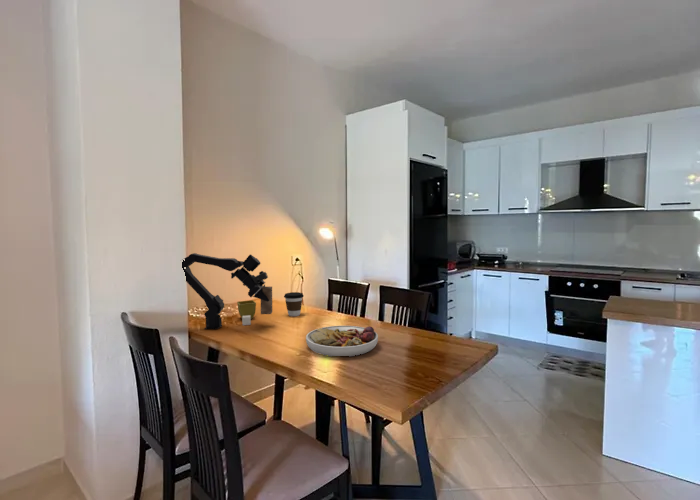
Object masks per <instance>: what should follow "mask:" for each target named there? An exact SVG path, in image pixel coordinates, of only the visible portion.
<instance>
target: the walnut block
mask: <svg viewBox="0 0 700 500" xmlns="http://www.w3.org/2000/svg"><path fill="white" fill-rule="evenodd" d="M261 288H262V287H261ZM263 292H264V294H265V295H266V296H267V298H268V299H269V301H268V302H267V301H264V300H261V299H260V315H272V313H273V286H265V287H263Z"/></svg>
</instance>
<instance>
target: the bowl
mask: <svg viewBox="0 0 700 500" xmlns="http://www.w3.org/2000/svg"><path fill="white" fill-rule="evenodd" d="M305 341H306V345H307V346H308V348H309V349H310V350H311V351H313V352H314V353H316V354H318V353H319V354H318V355H321V354H323V355H322V356H326V355H328V356H327V357H332V356H349V357H355V355H356V356H359V355H360V354H361V355H364V354H366V353H368V352H371V351H372V350H373V349H374V348H375V347H376V345H377V344H378V341H379V335H378V333H377V332H376V331H375V329H374V327H372V326H366V327H363V326H356V325H331V326H330V325H329V326H324V327H319V328H316V329H313V330H311V331H309V332H308V333H307V334H306V335H305Z"/></svg>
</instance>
